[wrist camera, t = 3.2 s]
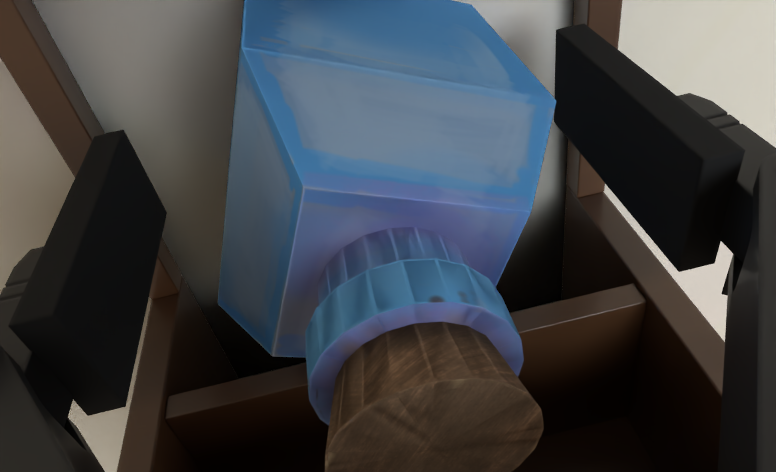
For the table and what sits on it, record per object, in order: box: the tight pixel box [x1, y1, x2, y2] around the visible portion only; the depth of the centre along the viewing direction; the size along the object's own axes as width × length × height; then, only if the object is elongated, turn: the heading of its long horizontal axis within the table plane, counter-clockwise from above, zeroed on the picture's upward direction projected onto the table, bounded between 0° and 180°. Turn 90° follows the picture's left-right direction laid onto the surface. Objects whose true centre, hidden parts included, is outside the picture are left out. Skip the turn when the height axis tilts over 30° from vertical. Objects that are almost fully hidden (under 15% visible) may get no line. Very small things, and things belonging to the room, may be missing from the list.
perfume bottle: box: [218, 0, 556, 472], centre depth 13 cm, size 6×6×12 cm
